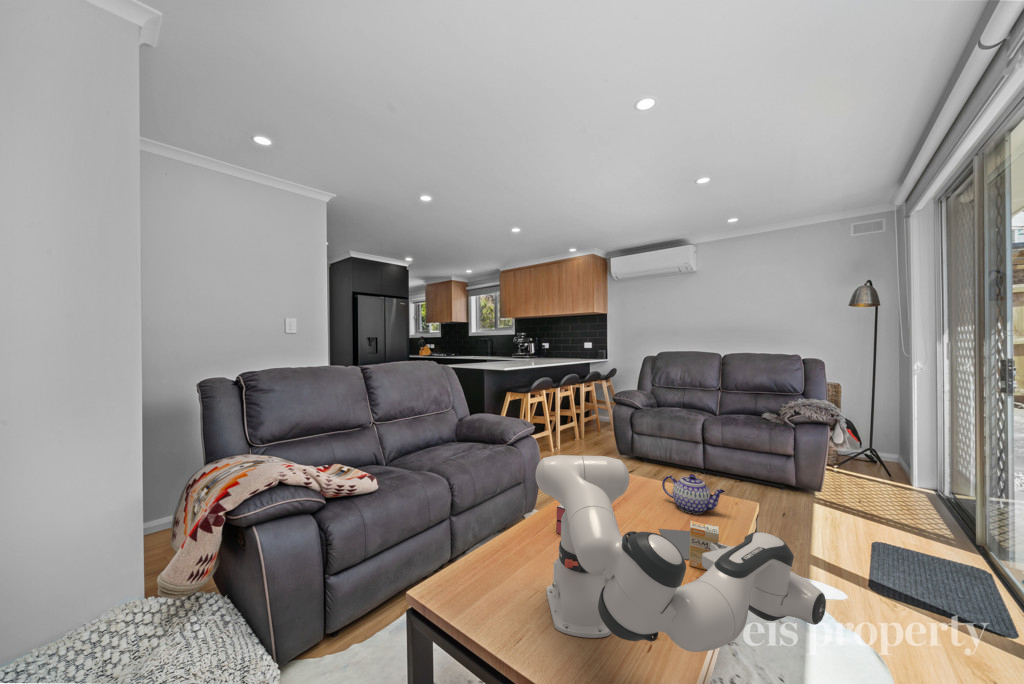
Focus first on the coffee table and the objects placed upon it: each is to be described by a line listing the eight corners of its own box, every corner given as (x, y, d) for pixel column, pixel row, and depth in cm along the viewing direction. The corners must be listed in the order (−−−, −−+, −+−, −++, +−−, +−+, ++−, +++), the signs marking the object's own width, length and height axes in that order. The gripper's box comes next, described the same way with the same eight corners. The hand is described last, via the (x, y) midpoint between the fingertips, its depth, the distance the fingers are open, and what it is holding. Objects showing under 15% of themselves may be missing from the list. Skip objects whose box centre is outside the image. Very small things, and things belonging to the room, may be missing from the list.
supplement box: (688, 566, 122) (689, 527, 121) (689, 558, 126) (690, 519, 125) (718, 574, 118) (718, 533, 117) (717, 565, 122) (718, 525, 121)
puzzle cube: (580, 542, 136) (580, 514, 136) (555, 533, 142) (556, 506, 142) (592, 531, 144) (593, 504, 144) (568, 523, 150) (569, 497, 150)
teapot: (655, 505, 168) (656, 471, 168) (669, 495, 179) (669, 463, 179) (718, 525, 150) (718, 487, 150) (729, 513, 161) (729, 477, 161)
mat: (719, 562, 124) (719, 561, 124) (674, 559, 126) (674, 558, 126) (697, 532, 144) (697, 531, 144) (658, 529, 146) (658, 528, 146)
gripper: (727, 590, 99) (686, 561, 112) (782, 575, 106) (737, 550, 119) (727, 566, 99) (686, 540, 112) (782, 552, 106) (738, 529, 119)
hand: (713, 545), depth 116 cm, fingers closed
